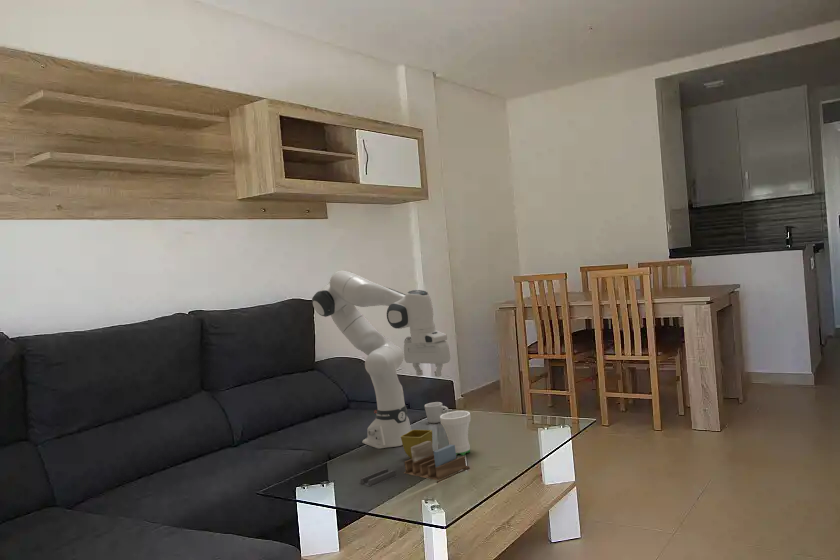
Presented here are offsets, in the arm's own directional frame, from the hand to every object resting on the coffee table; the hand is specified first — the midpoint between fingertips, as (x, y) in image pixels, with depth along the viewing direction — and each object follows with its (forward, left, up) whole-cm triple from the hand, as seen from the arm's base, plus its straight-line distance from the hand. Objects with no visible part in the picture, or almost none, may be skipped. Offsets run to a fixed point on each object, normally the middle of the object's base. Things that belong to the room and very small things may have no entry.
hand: (428, 375), depth 235 cm
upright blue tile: (+11, -7, -30) cm, 33 cm away
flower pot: (-13, +2, -31) cm, 34 cm away
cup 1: (-44, +42, -31) cm, 68 cm away
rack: (+5, -7, -31) cm, 32 cm away
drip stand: (-6, -23, -31) cm, 39 cm away
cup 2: (-2, +12, -31) cm, 34 cm away
